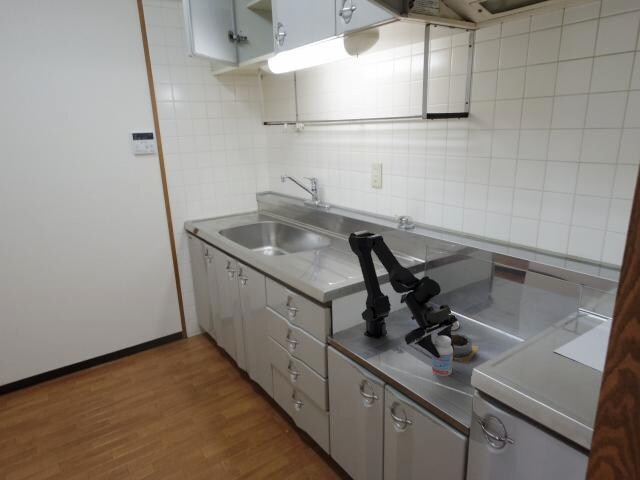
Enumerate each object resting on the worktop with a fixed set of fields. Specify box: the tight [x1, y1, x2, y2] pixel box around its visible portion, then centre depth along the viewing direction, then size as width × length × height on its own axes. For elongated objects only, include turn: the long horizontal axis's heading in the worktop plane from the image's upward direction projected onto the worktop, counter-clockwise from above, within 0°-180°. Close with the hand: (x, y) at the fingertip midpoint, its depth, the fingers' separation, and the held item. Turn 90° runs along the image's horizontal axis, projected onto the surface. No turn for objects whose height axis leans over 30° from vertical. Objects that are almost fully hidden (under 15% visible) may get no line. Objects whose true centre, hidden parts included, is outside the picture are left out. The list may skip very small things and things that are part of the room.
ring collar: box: [451, 332, 473, 358], centre depth 135 cm, size 10×10×4 cm
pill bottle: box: [431, 335, 454, 377], centre depth 124 cm, size 6×6×11 cm
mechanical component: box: [449, 312, 460, 331], centre depth 153 cm, size 10×4×10 cm
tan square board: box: [453, 344, 480, 364], centre depth 136 cm, size 12×12×1 cm
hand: (446, 354), depth 122 cm, fingers closed on pill bottle, 6 cm apart
